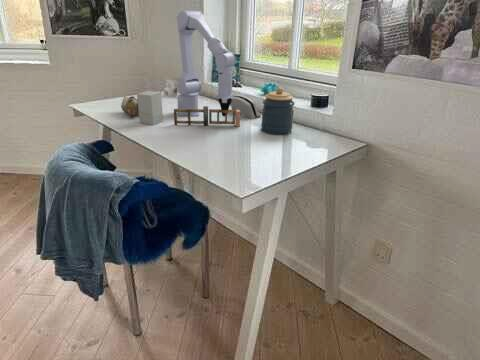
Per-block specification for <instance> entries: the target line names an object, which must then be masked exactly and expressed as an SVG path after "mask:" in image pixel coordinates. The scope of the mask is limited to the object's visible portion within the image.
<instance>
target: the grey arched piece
mask: <svg viewBox="0 0 480 360" xmlns="http://www.w3.org/2000/svg"><path fill="white" fill-rule="evenodd" d="M231 99H232V101H231V103H230V107H231V110H235V113H236V110H240V115H242V116H244V117H248V118H250V119H256V117H258V118H262V115H261V113H260V112H258V108H257V106H256V102H255V101H254V100H253V99H251V98H249V97H247V96H246V95H243V94H237V95H235V96H234V97H231Z"/></svg>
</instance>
